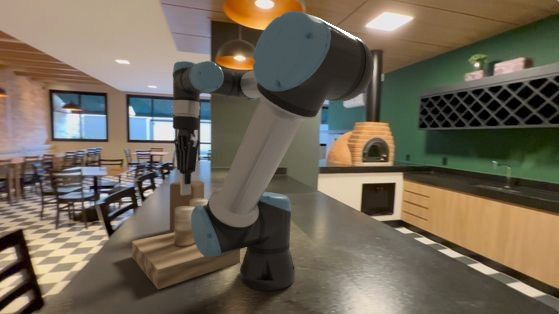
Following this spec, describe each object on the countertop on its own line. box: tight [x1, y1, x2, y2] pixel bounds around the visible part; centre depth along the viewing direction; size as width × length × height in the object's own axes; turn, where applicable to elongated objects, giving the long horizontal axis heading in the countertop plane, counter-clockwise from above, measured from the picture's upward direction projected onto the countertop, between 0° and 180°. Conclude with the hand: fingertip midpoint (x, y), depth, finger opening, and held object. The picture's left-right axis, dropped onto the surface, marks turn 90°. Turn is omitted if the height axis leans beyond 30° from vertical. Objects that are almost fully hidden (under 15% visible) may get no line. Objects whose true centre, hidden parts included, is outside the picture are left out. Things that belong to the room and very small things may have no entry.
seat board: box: [131, 198, 241, 290], centre depth 83 cm, size 24×24×16 cm
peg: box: [174, 206, 195, 248], centre depth 83 cm, size 6×6×16 cm
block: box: [169, 180, 205, 233], centre depth 108 cm, size 10×10×20 cm
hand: (185, 194), depth 82 cm, fingers closed
